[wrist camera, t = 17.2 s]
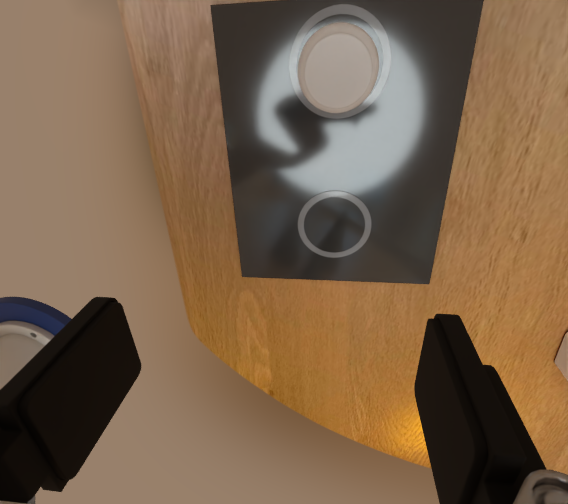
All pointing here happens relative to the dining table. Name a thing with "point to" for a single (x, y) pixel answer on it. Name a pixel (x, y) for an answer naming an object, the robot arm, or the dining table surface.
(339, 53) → the pill bottle
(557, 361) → the cup
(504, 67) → the dining table surface
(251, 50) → the hob
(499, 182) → the dining table surface
